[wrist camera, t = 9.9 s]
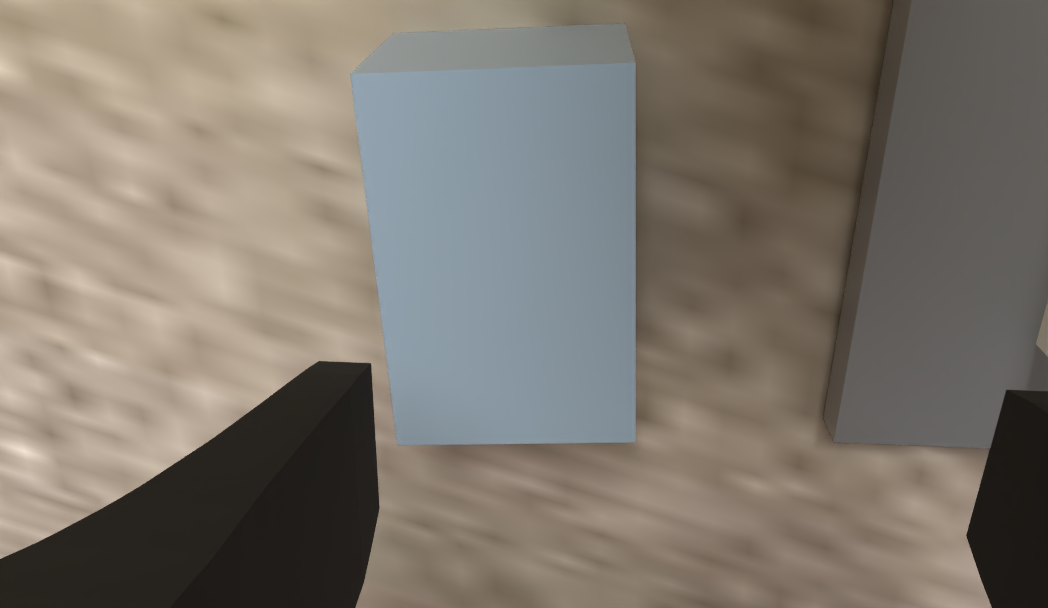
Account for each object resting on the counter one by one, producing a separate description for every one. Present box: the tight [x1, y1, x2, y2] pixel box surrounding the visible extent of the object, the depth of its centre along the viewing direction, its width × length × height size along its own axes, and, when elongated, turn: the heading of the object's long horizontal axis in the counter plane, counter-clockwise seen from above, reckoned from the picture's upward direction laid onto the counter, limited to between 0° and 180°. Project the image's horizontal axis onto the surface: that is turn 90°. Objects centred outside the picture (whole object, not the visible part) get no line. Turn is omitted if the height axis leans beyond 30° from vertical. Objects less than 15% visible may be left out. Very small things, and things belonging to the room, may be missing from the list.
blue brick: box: [350, 23, 636, 445], centre depth 18 cm, size 7×4×4 cm, turn 3°
